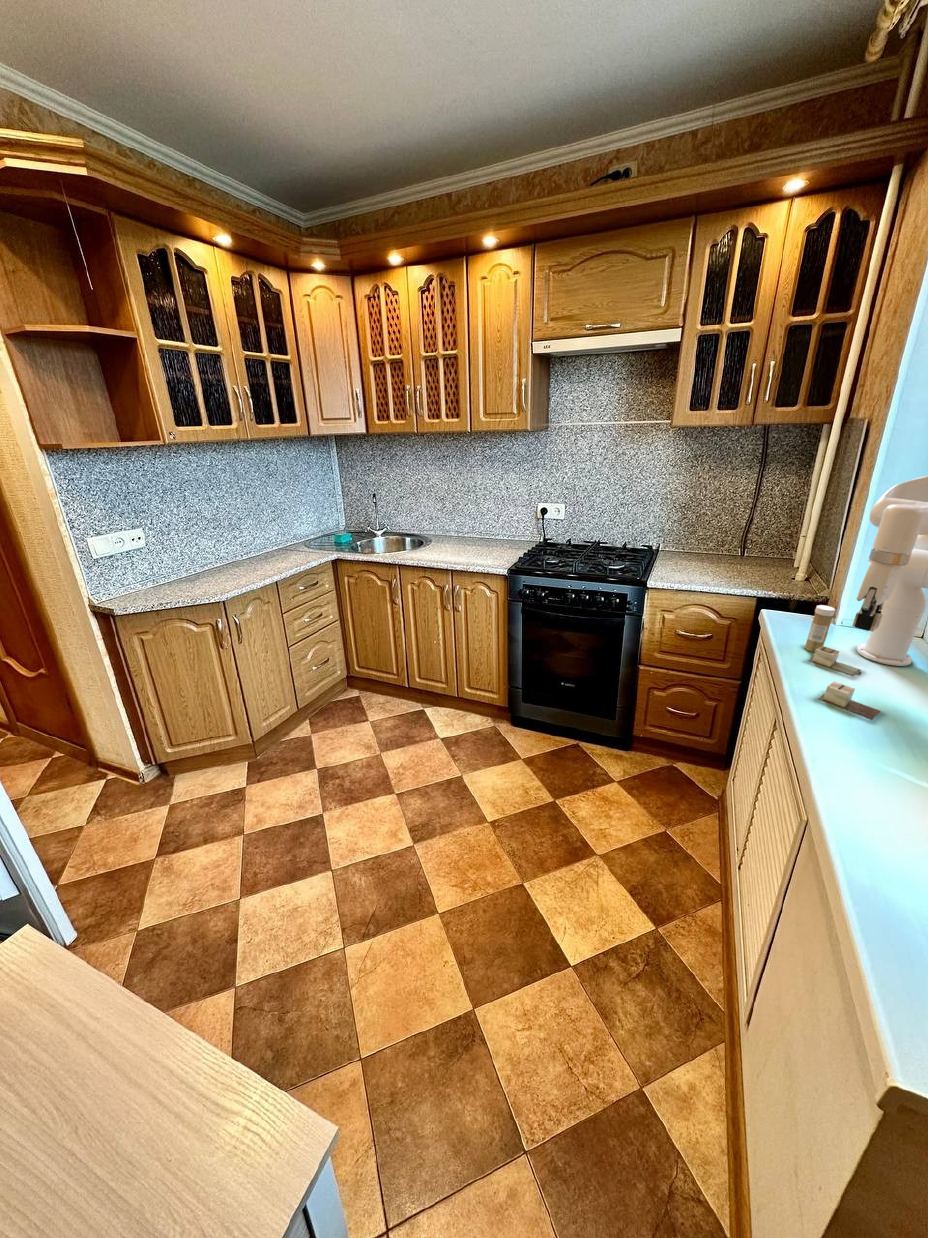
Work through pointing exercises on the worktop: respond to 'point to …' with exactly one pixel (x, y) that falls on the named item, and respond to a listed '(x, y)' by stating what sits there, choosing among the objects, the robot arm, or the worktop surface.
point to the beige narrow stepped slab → (832, 661)
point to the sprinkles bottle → (819, 627)
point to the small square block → (875, 621)
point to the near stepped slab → (846, 700)
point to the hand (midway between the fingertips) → (865, 625)
